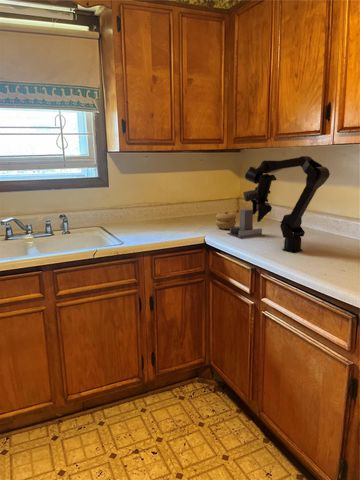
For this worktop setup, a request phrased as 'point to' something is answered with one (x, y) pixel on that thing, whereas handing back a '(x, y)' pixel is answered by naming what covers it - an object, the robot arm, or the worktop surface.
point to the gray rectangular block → (246, 219)
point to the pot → (225, 220)
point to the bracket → (245, 233)
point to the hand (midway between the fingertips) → (255, 217)
